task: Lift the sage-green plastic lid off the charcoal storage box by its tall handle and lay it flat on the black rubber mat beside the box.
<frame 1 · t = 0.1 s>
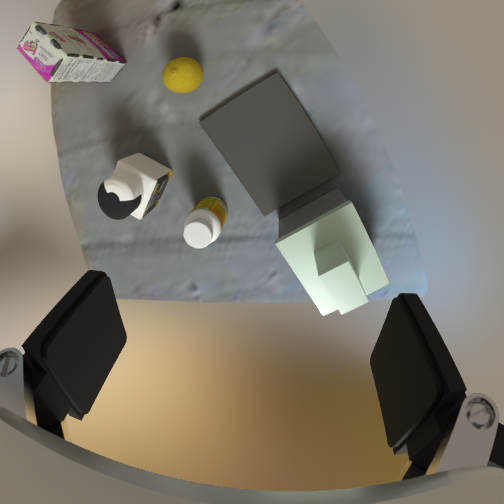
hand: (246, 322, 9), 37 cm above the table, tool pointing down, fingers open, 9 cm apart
candy bar box: (102, 57, 35), on the table
medicine bottle: (148, 178, 45), on the table
lemon: (191, 78, 37), on the table
storage box: (328, 237, 47), on the table
mat: (271, 144, 41), on the table
lid: (335, 261, 40), point 8 cm above the table, touching storage box
supplement bottle: (212, 210, 47), on the table
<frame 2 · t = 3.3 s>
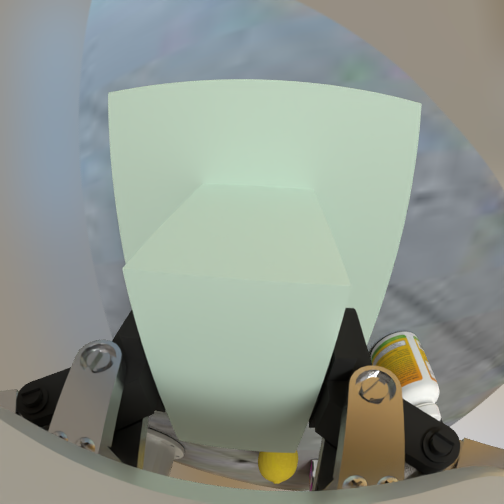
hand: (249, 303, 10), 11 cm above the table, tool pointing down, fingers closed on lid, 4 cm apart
candy bar box: (322, 465, 42), on the table
lemon: (279, 435, 35), on the table
lid: (256, 257, 13), point 8 cm above the table, touching gripper, storage box
supplement bottle: (393, 347, 26), on the table
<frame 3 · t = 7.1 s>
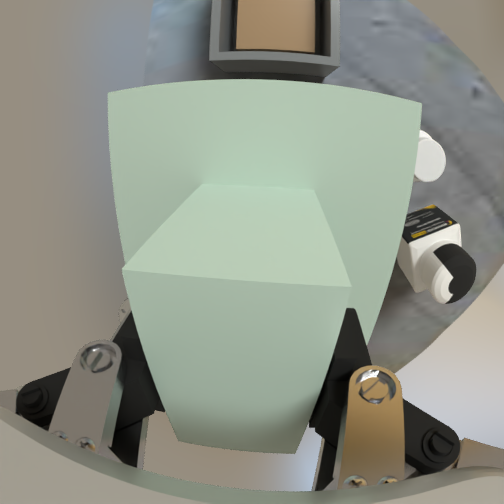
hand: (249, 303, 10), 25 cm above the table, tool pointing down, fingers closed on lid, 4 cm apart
medicine bottle: (415, 234, 34), on the table
storage box: (277, 19, 23), on the table
lid: (256, 257, 13), point 22 cm above the table, touching gripper
supplement bottle: (390, 145, 29), on the table
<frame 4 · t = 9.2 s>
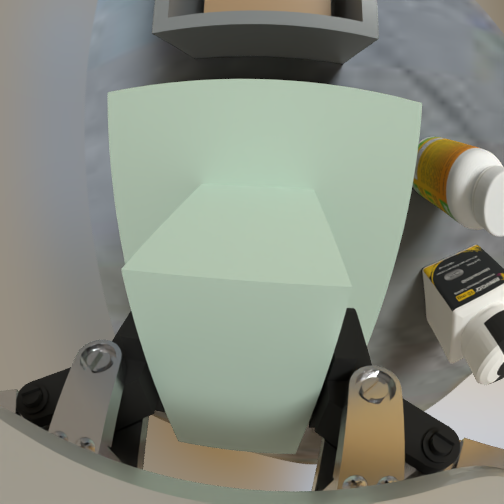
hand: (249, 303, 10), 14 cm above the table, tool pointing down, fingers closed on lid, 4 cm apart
medicine bottle: (450, 281, 24), on the table
lid: (256, 257, 13), point 10 cm above the table, touching gripper
supplement bottle: (431, 167, 20), on the table
when the fingers open (7 cm above the table, at t = 10.9 s): lid drops 2 cm, resting on mat.
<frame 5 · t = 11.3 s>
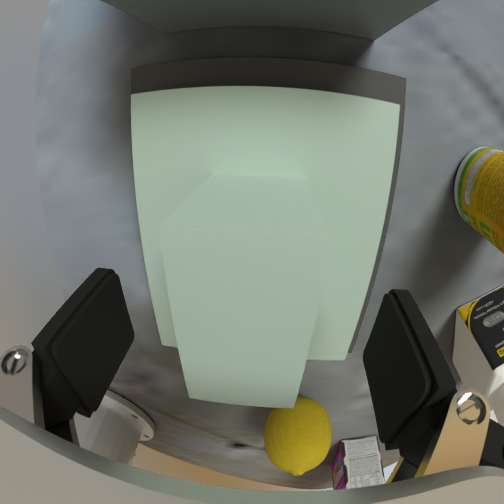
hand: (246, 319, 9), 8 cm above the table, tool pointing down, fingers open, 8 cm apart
candy bar box: (353, 450, 30), on the table
medicine bottle: (483, 319, 18), on the table
lemon: (297, 394, 23), on the table
mat: (261, 224, 16), on the table
lid: (258, 238, 14), point 2 cm above the table, touching mat
supplement bottle: (480, 185, 13), on the table
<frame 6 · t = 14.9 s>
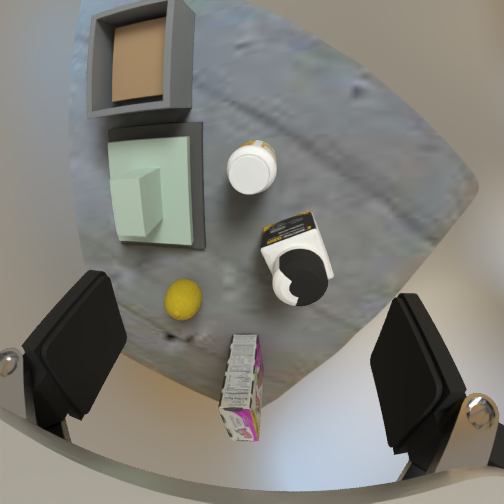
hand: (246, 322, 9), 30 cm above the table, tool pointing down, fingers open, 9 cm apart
candy bar box: (249, 352, 52), on the table
medicine bottle: (295, 239, 41), on the table
lemon: (190, 283, 46), on the table
storage box: (154, 63, 30), on the table
mat: (156, 187, 39), on the table
lid: (151, 190, 37), point 2 cm above the table, touching mat
supplement bottle: (256, 159, 36), on the table
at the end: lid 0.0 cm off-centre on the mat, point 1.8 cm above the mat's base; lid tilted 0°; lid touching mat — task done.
